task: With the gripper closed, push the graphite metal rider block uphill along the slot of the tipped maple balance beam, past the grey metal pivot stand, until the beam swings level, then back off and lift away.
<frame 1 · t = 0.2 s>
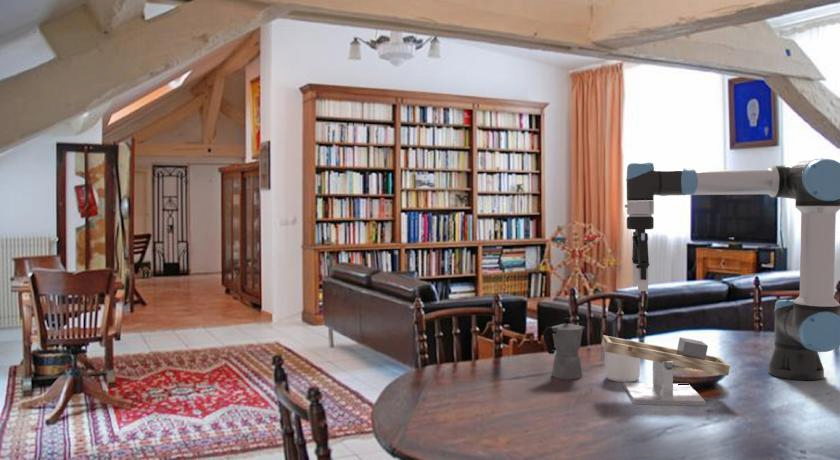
hand: (640, 288, 209), 28 cm above the table, fingers open, 13 cm apart
cup: (622, 379, 215), on the table
coffeepot: (564, 377, 219), on the table
beam: (663, 356, 196), point 11 cm above the table, hinge at -10.5°, touching rider
rider: (690, 359, 195), point 10 cm above the table, tilted 10°, touching beam
stand: (662, 395, 196), on the table
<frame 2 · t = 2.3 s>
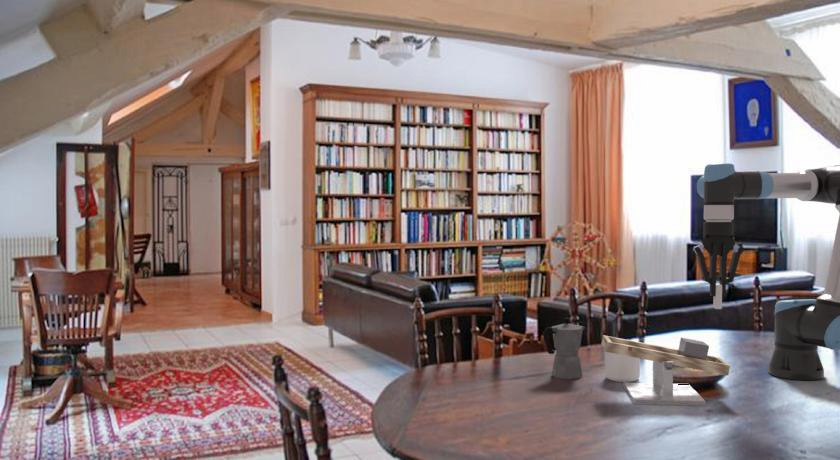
hand: (717, 308, 193), 24 cm above the table, fingers closed
nothing on the table moved.
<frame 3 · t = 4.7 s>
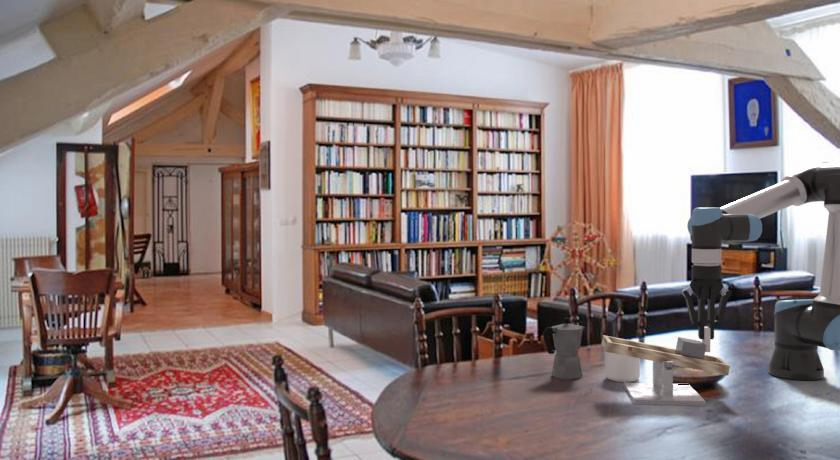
hand: (706, 351, 194), 13 cm above the table, fingers closed
rider: (688, 359, 195), point 10 cm above the table, tilted 10°, touching beam, gripper
everything else where it was.
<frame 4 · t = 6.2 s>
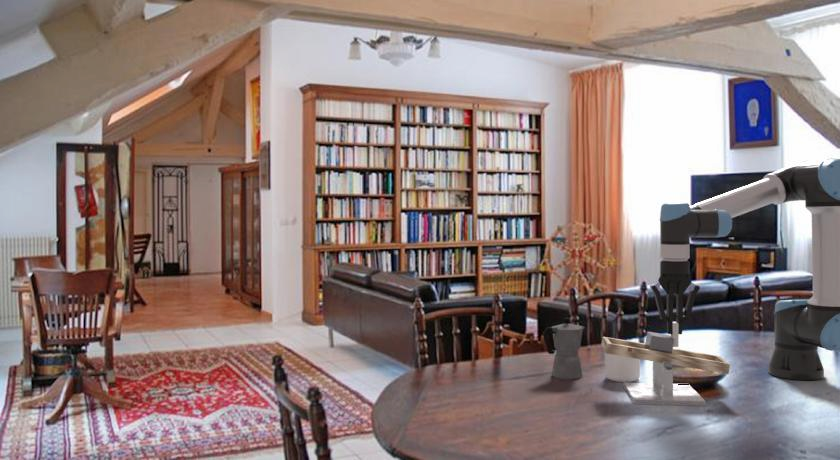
hand: (674, 345, 195), 14 cm above the table, fingers closed
beam: (663, 356, 196), point 11 cm above the table, hinge at -9.0°, touching rider
rider: (657, 353, 196), point 12 cm above the table, tilted 9°, touching beam
everything else where it was.
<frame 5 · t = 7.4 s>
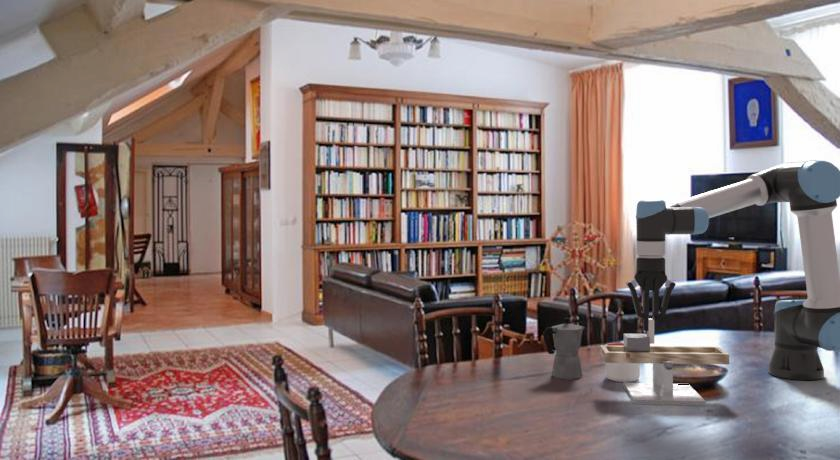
hand: (650, 342, 196), 15 cm above the table, fingers closed
beam: (662, 356, 196), point 11 cm above the table, hinge at 0.2°
rider: (636, 353, 196), point 11 cm above the table
everything else where it was.
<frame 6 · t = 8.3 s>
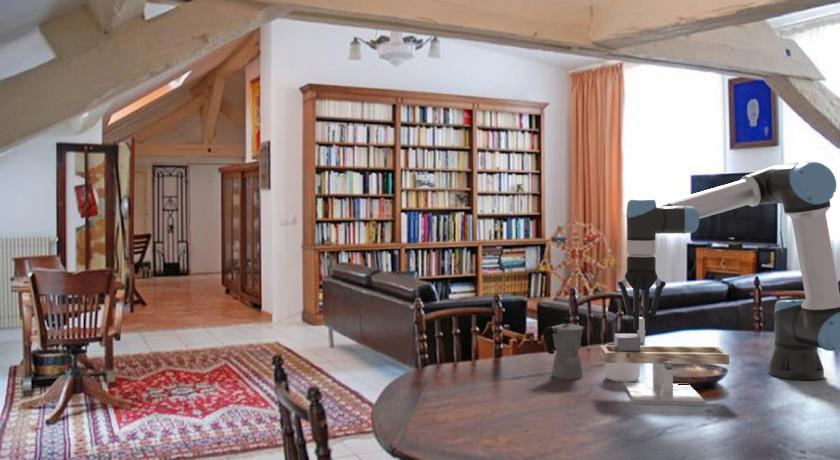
hand: (641, 341, 196), 15 cm above the table, fingers closed
beam: (662, 356, 196), point 11 cm above the table, hinge at 0.2°, touching rider
rider: (627, 353, 197), point 11 cm above the table, touching beam, gripper
everything else where it was.
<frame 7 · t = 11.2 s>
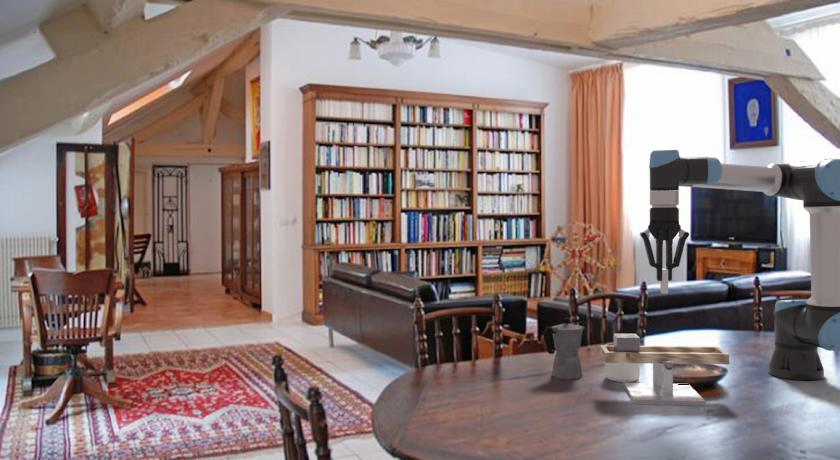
hand: (664, 292, 195), 28 cm above the table, fingers closed
rider: (626, 353, 197), point 11 cm above the table, touching beam
everything else where it was.
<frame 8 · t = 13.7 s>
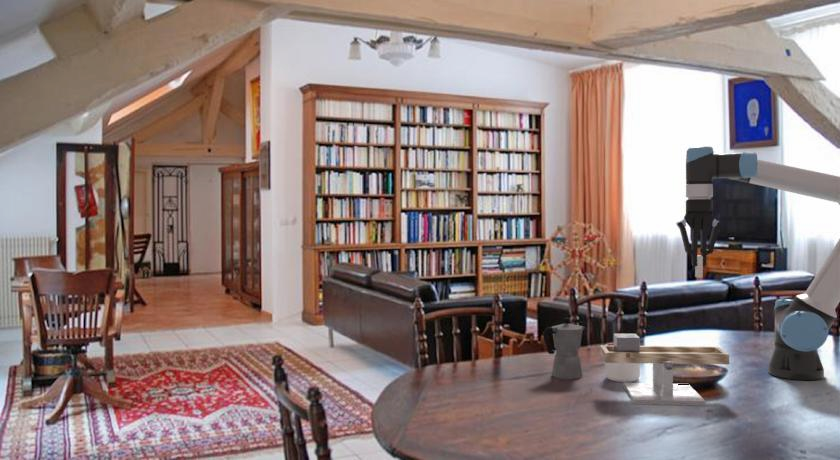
hand: (698, 277, 215), 30 cm above the table, fingers closed
nothing on the table moved.
at the end: beam at +0° (first picture: -10°); rider inside the target area on the beam (0.6 cm from its centre), point 1.5 cm above the beam's base; rider tilted 0° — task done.
